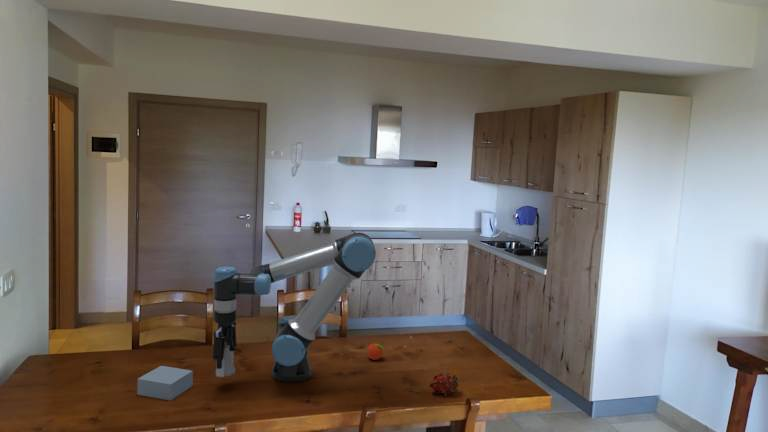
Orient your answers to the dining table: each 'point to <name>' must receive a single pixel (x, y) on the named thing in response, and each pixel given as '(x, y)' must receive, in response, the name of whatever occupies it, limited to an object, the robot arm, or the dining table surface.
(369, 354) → the clementine
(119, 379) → the dining table surface
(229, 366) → the flask
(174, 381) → the grey block
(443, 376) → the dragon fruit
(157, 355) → the dining table surface
